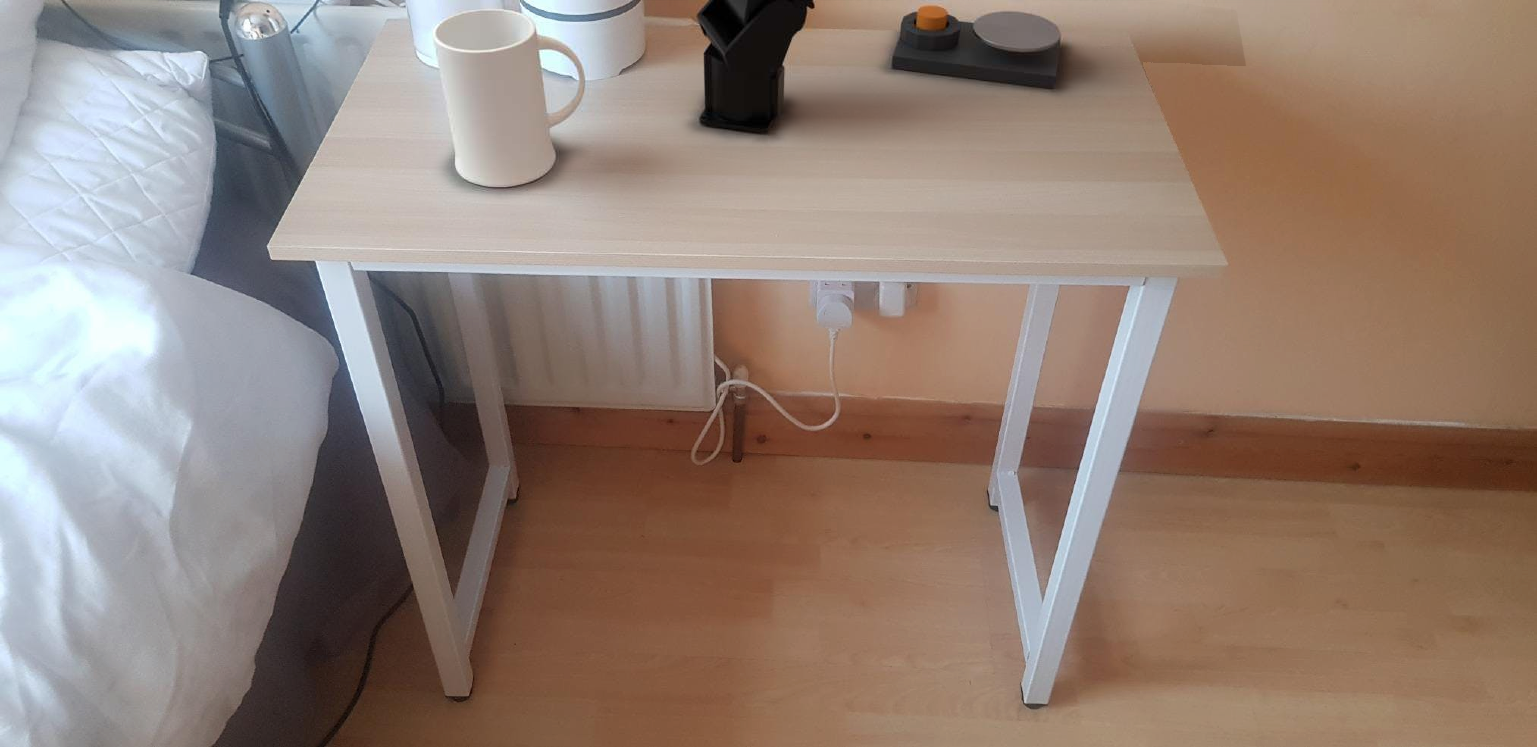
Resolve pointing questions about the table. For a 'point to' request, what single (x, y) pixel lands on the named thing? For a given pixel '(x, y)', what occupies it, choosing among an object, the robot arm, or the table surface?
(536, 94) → the mug
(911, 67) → the scale
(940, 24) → the button
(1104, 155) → the table surface
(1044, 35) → the weighing pan
